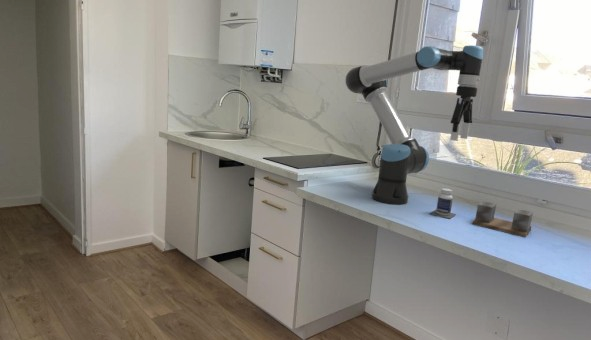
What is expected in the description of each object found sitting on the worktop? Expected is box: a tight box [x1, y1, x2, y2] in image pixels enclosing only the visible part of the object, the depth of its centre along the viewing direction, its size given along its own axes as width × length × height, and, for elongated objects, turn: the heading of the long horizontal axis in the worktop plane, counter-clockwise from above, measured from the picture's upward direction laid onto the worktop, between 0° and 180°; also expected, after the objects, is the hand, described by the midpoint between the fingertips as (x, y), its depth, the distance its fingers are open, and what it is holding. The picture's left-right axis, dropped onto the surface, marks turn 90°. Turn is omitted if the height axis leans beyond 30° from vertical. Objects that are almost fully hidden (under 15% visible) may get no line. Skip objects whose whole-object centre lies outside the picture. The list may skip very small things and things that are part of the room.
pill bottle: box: [435, 187, 454, 215], centre depth 170 cm, size 5×5×10 cm
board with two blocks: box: [472, 200, 534, 238], centre depth 161 cm, size 18×12×7 cm, turn 54°
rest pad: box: [429, 209, 457, 220], centre depth 171 cm, size 8×8×1 cm
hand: (458, 139), depth 177 cm, fingers open, 13 cm apart
